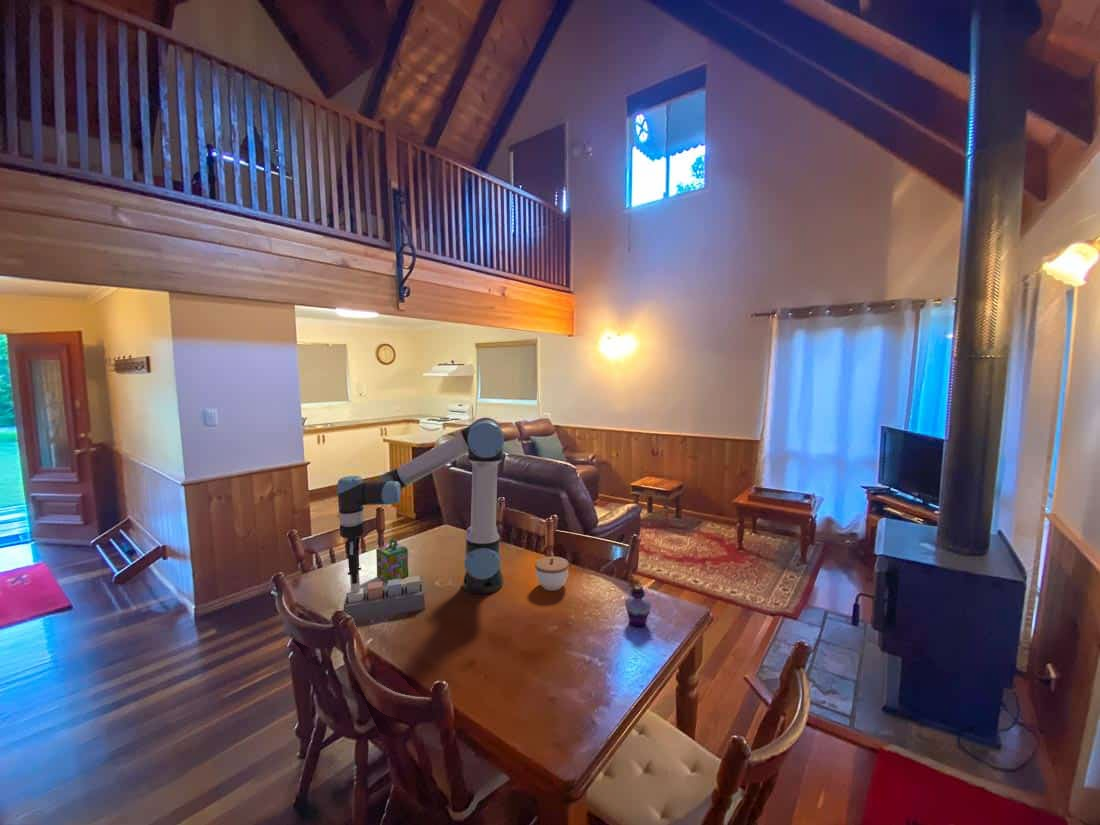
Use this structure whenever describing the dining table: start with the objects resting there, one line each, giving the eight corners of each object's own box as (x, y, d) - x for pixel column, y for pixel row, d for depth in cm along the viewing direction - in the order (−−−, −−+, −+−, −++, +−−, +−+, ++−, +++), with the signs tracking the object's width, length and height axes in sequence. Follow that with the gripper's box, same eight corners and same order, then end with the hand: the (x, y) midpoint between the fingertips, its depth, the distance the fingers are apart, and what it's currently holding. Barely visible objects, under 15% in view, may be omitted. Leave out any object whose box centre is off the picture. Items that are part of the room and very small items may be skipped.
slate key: (401, 593, 161) (400, 578, 161) (401, 599, 157) (401, 583, 157) (388, 595, 160) (387, 580, 159) (388, 601, 156) (387, 586, 155)
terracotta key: (383, 596, 159) (382, 581, 159) (382, 602, 155) (381, 586, 155) (369, 598, 158) (368, 583, 158) (368, 604, 154) (367, 588, 153)
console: (423, 595, 167) (422, 581, 166) (424, 609, 157) (424, 593, 157) (347, 608, 159) (346, 592, 158) (344, 622, 149) (343, 606, 149)
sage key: (419, 590, 163) (419, 575, 163) (420, 595, 159) (419, 581, 159) (407, 592, 162) (406, 577, 161) (407, 598, 158) (406, 583, 157)
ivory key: (364, 602, 158) (363, 587, 157) (363, 608, 153) (362, 593, 153) (350, 604, 156) (349, 589, 156) (349, 611, 152) (348, 595, 152)
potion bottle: (641, 613, 152) (641, 579, 151) (656, 627, 144) (657, 590, 143) (619, 619, 149) (619, 583, 148) (633, 633, 141) (633, 595, 140)
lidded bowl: (569, 579, 178) (569, 551, 177) (567, 594, 166) (567, 565, 165) (537, 578, 179) (537, 551, 178) (533, 593, 167) (532, 564, 166)
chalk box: (376, 577, 183) (374, 541, 181) (397, 569, 189) (395, 534, 188) (388, 584, 176) (386, 546, 175) (409, 575, 183) (408, 540, 182)
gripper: (341, 518, 157) (345, 584, 159) (337, 530, 145) (341, 602, 147) (365, 516, 159) (368, 580, 162) (362, 528, 147) (366, 598, 149)
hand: (355, 590), depth 154 cm, fingers closed
